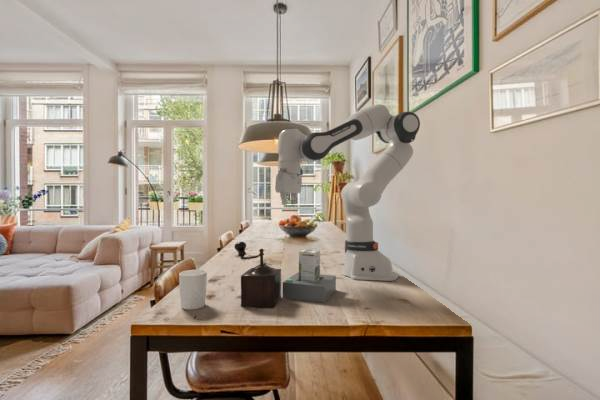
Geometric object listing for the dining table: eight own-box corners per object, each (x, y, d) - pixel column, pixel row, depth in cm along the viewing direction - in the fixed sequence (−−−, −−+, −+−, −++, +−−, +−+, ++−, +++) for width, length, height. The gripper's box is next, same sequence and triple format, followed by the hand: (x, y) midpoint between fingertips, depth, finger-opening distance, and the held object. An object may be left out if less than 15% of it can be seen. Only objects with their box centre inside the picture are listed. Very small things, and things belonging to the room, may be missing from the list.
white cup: (199, 299, 98) (199, 268, 98) (212, 305, 93) (211, 272, 92) (174, 305, 93) (174, 272, 93) (186, 312, 87) (186, 277, 87)
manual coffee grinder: (282, 296, 101) (282, 241, 101) (274, 309, 90) (274, 246, 90) (237, 294, 104) (237, 240, 103) (223, 305, 93) (223, 245, 92)
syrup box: (304, 290, 108) (304, 248, 108) (320, 292, 106) (320, 249, 105) (298, 295, 102) (298, 251, 102) (315, 297, 100) (315, 252, 100)
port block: (335, 290, 108) (335, 273, 108) (324, 302, 95) (324, 284, 95) (298, 286, 113) (298, 270, 113) (282, 297, 100) (282, 280, 100)
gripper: (287, 167, 113) (286, 205, 113) (304, 171, 132) (304, 204, 132) (271, 167, 115) (270, 205, 115) (290, 171, 134) (290, 203, 134)
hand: (288, 204), depth 124 cm, fingers open, 8 cm apart
